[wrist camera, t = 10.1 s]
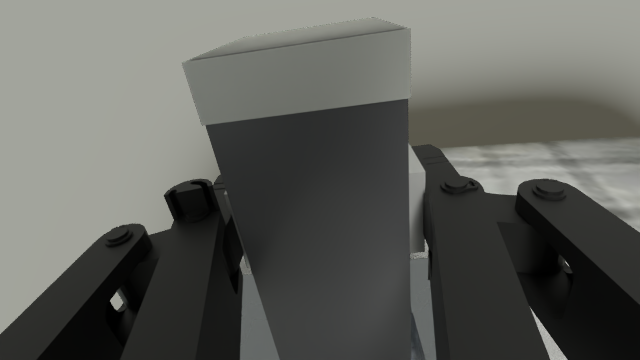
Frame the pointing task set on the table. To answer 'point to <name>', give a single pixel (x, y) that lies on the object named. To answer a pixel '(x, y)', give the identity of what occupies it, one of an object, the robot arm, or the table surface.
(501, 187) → the table surface
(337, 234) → the plug
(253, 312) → the socket block
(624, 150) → the table surface
